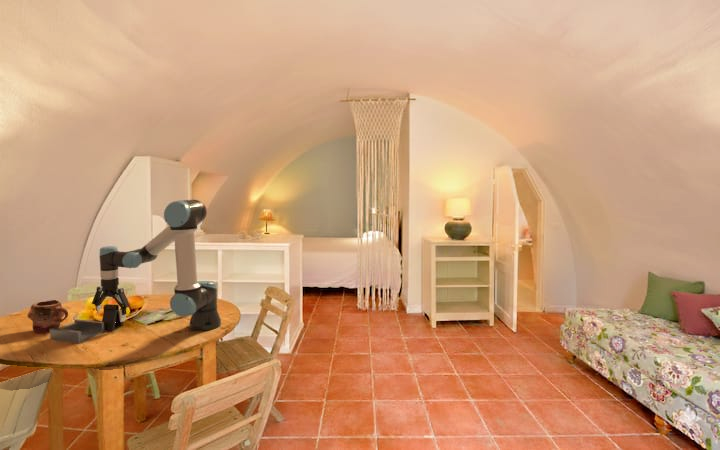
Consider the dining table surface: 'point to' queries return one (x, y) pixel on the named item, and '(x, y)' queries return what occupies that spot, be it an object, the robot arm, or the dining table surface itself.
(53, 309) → the brown clay mug
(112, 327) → the door stopper
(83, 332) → the bracket
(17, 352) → the dining table surface
